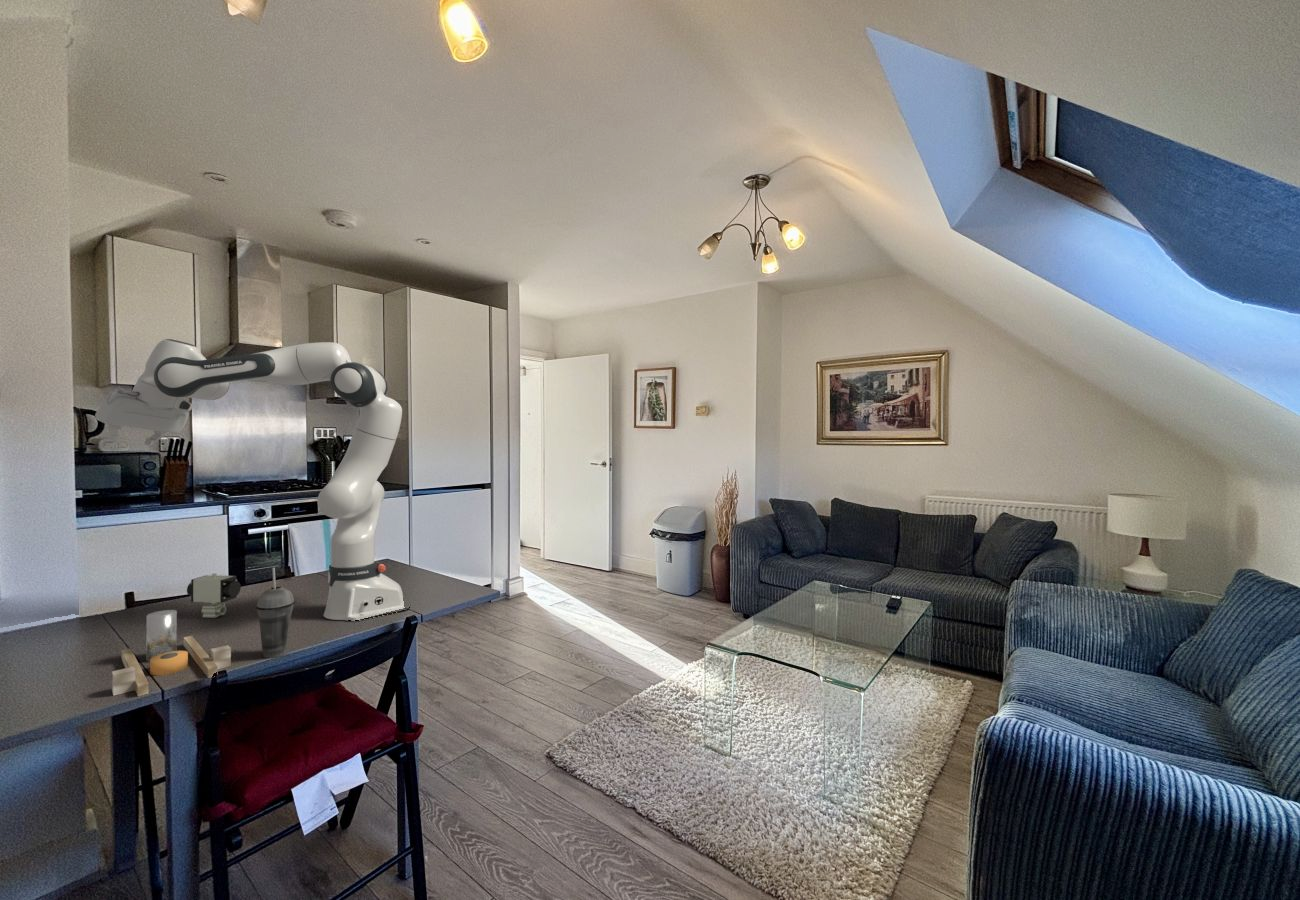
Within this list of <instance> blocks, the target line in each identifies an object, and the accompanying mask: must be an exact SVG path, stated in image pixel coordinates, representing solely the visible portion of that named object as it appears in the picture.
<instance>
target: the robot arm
mask: <svg viewBox="0 0 1300 900" xmlns="http://www.w3.org/2000/svg"><path fill="white" fill-rule="evenodd" d="M144 366H145V368H144V370H143V372H142V373H141V375H140V376H139V377H138V378H137V380H136V382H135V384H134V386H133V388H132V390H126V389H123V388H118V389H115V390H112V391H110V392H109V394H108V395H107V397H106V398H105V399H104V400H103V402H102V403H101V405H100V406H99V407H98V409H97V411H96V412H95V414H94V416H95V419H96V420H97V421H99V422H101V423H103V424H106V425H107V430H108V435H107V438H106V440H107V441H109V442H112V443H113V442H114V443H119V441H120V440H121V437H122V436H121V435H119V430H122V429H121V428H122V427H127V428H131V429H132V428H133V429H140V430H148V431H153V434H152V435H151V436H150V437H146V438H145V441H144V445H146V446H152V447H155V446H156V444H157V442H158V441H159V440H161V439H162V438H163V437H165V436H166V434H167V433H170V434H179V433H180V432H182V431H183V430H184V427H185V425H186V424H187V421H188V419H189V414H190V413H189V412H191V410H192V409H193V408H194V407H193V406H194V404H193V403H191V402H190V401H188V400H186V399H185V398H189V399H197V400H205V401H206V400H207V401H208V400H209V401H210V400H212V401H214V400H219V399H221V398H222V397H224V396H225V395H226V394H227V393H228V391H229V389H230V383H232V382H233V383H234V382H239V381H240V382H241V381H258V382H265V383H272V384H276V385H281V386H303V385H311V384H316V383H322V382H330V386H331V388H332V390H333V392H334V393H335V394H336V395H338V396H339V397H340V398H341V399H343V400H344V401H346V402H348V403H349V404H350V405H351V406H353V407H355V408H358V409H359V417H358V419H357V422H356V425H355V428H354V431H353V434H352V436H351V439H350V442H349V444H348V447H347V449H346V452H345V454H344V456H343V457H342V460H341V462H340V463H339V464H338V465H337V466H338V467H337V468H336V470H335V471H334V473H333V475H332V476H331V478H330V480H329V481H328V483H327V484H326V485H325V486H324V487H323V488H322V489H321V490H320V492H319V494H318V496H317V506H318V508H319V510H320V512H321V513H322V514H323V515H324V516H326V517H329V518H331V519H337V523H336V526H335V528H334V531H333V533H332V535H331V539H330V564H329V566H328V571H327V574H328V575H327V578H328V579H327V580H328V585H329V588H328V589H329V590H328V595H327V596H328V597H327V602H326V607H325V610H324V612H323V617H324V618H326V619H328V620H333V621H334V620H335V621H348V620H351V621H350V622H356V621H355V620H359V621H361V620H360V619H364V618H368V617H371V616H375V615H379V614H383V613H386V612H391V611H395V610H399V609H403V608H405V607H404V601H403V597H404V595H403V594H404V593H403V589H402V587H401V585H400V584H399V583H398V582H396V581H395V580H393V579H392V578H390V577H389V576H387V575H385V574H383V572H385V571H386V566H385V565H384V563H381V562H379V561H376V560H375V556H376V555H375V552H376V551H375V547H376V545H375V544H376V543H375V541H376V540H375V539H376V530H377V526H378V521H379V516H380V511H381V505H382V503H383V501H384V498H385V489H384V486H383V484H381V483H380V482H379V481H378V479H379V477H380V476H381V474H382V472H383V471H384V469H385V468H386V467H387V465H388V464H389V461H390V458H391V455H392V452H393V449H394V447H395V444H396V441H397V438H398V436H399V431H400V428H401V423H402V418H403V408H402V406H401V404H400V403H399V402H397V401H396V400H395V399H393V398H391V397H388V396H386V395H387V393H388V390H389V389H388V387H389V386H388V382H387V379H386V377H385V376H384V375H383V373H381V371H378V370H377V369H374V368H373V367H371V366H370V365H368V364H367V365H366V364H363V363H360V362H356V361H355V362H354V361H353V362H352V359H351V357H350V354H349V352H348V350H347V349H346V347H344V346H343V345H342V344H341V343H337V342H333V341H331V342H329V341H327V342H326V341H321V342H306V343H300V344H295V345H290V346H284V347H280V348H275V349H270V350H265V351H261V352H254V353H250V354H244V355H235V356H225V357H219V358H218V357H217V358H216V357H215V358H209V359H208V358H206V356H204V355H203V354H202V352H201V351H200V348H199V347H198V346H196V345H194V344H191V343H189V342H184V341H181V340H177V339H176V340H175V339H172V338H171V339H170V338H165V339H162V340H160V342H158V343H157V344H156V345H155V347H154V348H153V350H152V351H151V353H150V354H149V356H148V359H147V360H146V362H145V365H144ZM364 620H365V619H364Z"/></svg>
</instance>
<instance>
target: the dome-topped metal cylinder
mask: <svg viewBox="0 0 1300 900" xmlns="http://www.w3.org/2000/svg"><path fill="white" fill-rule="evenodd" d="M177 615H178V612H177V610H176V609H165V610H159V611H154V612H151V613H148V614H147V615H146V643H145V646H146V649H145V651H146V655H145V657H146V658H145V659H146V662H148V663H150V659H151V658H152V657H154V656H156V655H159V654H163V653H167V652H172V651H178V650H177V641H178V639H177V638H178V637H177V635H178V634H177V631H178V630H177V628H178V625H177V624H178V623H177V621H178V620H177V619H178V617H177Z"/></svg>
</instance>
